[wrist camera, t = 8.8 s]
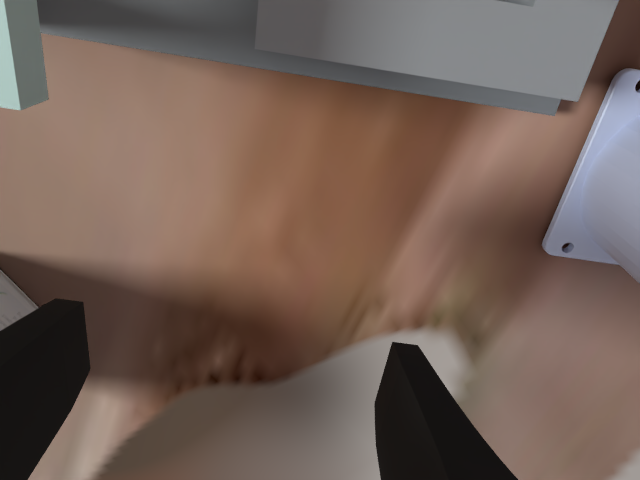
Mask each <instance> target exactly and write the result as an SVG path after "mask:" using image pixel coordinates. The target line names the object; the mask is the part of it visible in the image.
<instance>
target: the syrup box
mask: <svg viewBox="0 0 640 480" xmlns="http://www.w3.org/2000/svg"><path fill="white" fill-rule="evenodd" d="M36 309H38V307H37V305H36V304H35V303H34V302H33V301H32V300H31V299H30V298H28V296H27V295H26V294H25V293H24V292H23V291H22V290H21V289H20V288H18V286H17V285H16V284H15V283H14V282H13V281H12V280H11V279H10V278H8V277H7V276H6V275H5V274H4V273H3V272H2V271H1V270H0V331H1V330H2V329H4V328H6V327H8V326H9V325H11V324H13V323H14V322H16V321H18V320H19V319H21V318H23V317H24V316H26V315H28V314H29V313H31V312H33V311H35V310H36Z"/></svg>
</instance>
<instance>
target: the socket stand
mask: <svg viewBox="0 0 640 480" xmlns="http://www.w3.org/2000/svg"><path fill="white" fill-rule="evenodd" d="M618 1H619V0H0V107H2V108H8V109H15V110H23V109H25V108H28V107H31V106H33V105H36V104H38V103H41V102H43V101H46V100H48V99H49V98H48V90H47V81H46V73H45V65H44V57H43V48H42V40H41V33H43V34H50V35H56V36H62V37H68V38H74V39H81V40H87V41H93V42H99V43H105V44H112V45H118V46H124V47H130V48H136V49H143V50H149V51H155V52H161V53H167V54H174V55H180V56H186V57H192V58H198V59H205V60H211V61H217V62H223V63H229V64H236V65H242V66H248V67H254V68H260V69H267V70H273V71H279V72H285V73H291V74H298V75H304V76H310V77H316V78H322V79H329V80H335V81H341V82H347V83H353V84H360V85H366V86H372V87H378V88H384V89H391V90H397V91H403V92H409V93H415V94H422V95H428V96H434V97H440V98H446V99H453V100H459V101H465V102H471V103H477V104H484V105H490V106H496V107H502V108H508V109H515V110H521V111H527V112H533V113H539V114H546V115H552V116H555V114H556V111H557V109H558V106H559V103H560V101H561V99H564V100H570V101H576V102H578V100H579V97H580V95H581V93H582V90H583V88H584V85H585V83H586V80H587V78H588V75H589V73H590V70H591V68H592V65H593V63H594V60H595V58H596V56H597V53H598V51H599V48H600V46H601V43H602V41H603V38H604V36H605V33H606V31H607V28H608V26H609V24H610V21H611V19H612V16H613V14H614V11H615V9H616V6H617V4H618Z"/></svg>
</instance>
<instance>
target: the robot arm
mask: <svg viewBox="0 0 640 480" xmlns="http://www.w3.org/2000/svg"><path fill="white" fill-rule="evenodd" d="M639 80H640V70H638V69H632V68H626V69H623V70H621V71H619V72H618V73H617V74H616V75H615V76H614V78H613V79H612V82H611V84H610V86H609V88H608V91H607V93H606V95H605V98H604V100H603V102H602V105H601V107H600V109H599V112H598V114H597V116H596V119H595V121H594V123H593V126H592V128H591V130H590V133H589V135H588V137H587V140H586V142H585V144H584V147H583V149H582V151H581V153H580V156H579V158H578V160H577V163H576V165H575V167H574V170H573V172H572V174H571V177H570V179H569V181H568V184H567V186H566V188H565V191H564V193H563V195H562V198H561V200H560V202H559V205H558V207H557V209H556V212H555V214H554V216H553V219H552V221H551V223H550V225H549V228H548V230H547V232H546V235H545V237H544V239H543V243H542V246H543V249H544V250H545V251H546V252H547V253H548V254H550V255H553V256H560V257H567V258H574V259H581V260H588V261H595V262H602V263H609V264H616V265H620V266H621V267H622V268H623V269H625V270H626V271H627V272H628V273H629V274H630V275H631V276H632V277H633V278H634V279H635V280H636V281H637V282H638V283H639V284H640V89H639V90H637V91H636V89H635V87H636V84H637V82H638V81H639ZM566 243H570V244H569V246H568V247H566V248H563V249H562V246H563V245H564V244H566ZM89 371H90V361H89V351H88V342H87V333H86V324H85V315H84V306H83V302H79V301H71V300H64V299H54V300H52V301H50V302H49V303H47V304H45V305H43V306H41V307H40V308H38V309H36V310H35V311H33V312H31V313H29V314H28V315H26V316H24V317H23V318H21V319H19V320H18V321H16V322H14V323H13V324H11V325H9V326H8V327H6V328H4V329H2V330H1V331H0V480H28V478H29V476H30V475H31V473H32V472H33V470H34V469H35V467H36V465H37V464H38V462H39V461H40V459H41V458H42V456H43V454H44V453H45V451H46V450H47V448H48V447H49V445H50V443H51V442H52V440H53V439H54V437H55V435H56V434H57V432H58V431H59V429H60V427H61V426H62V424H63V423H64V421H65V419H66V418H67V416H68V414H69V413H70V411H71V409H72V407H73V405H74V403H75V401H76V399H77V397H78V395H79V393H80V391H81V389H82V386H83V384H84V382H85V380H86V378H87V375H88V373H89ZM375 432H376V433H375V434H376V448H377V456H378V462H379V468H380V476H381V480H518V479H517V478H516V477H515V476H514V475H513V473H512V472H511V471H510V470H509V469H508V468H507V467H506V465H505V464H504V463H503V462H502V461H501V460H500V459H499V457H498V456H497V455H496V454H495V452H494V451H493V450H492V449H491V447H490V446H489V445H488V444H487V443H486V441H485V440H484V439H483V438H482V436H481V435H480V434H479V432H478V431H477V430H476V428H475V427H474V426H473V425H472V423H471V422H470V420H469V419H468V418H467V416H466V415H465V414H464V412H463V411H462V409H461V408H460V407H459V405H458V404H457V403H456V401H455V400H454V398H453V397H452V395H451V394H450V393H449V391H448V390H447V388H446V387H445V385H444V384H443V382H442V381H441V380H440V378H439V376H438V375H437V373H436V372H435V370H434V369H433V367H432V366H431V365H430V363H429V361H428V360H427V358H426V357H425V355H424V354H423V352H422V351H421V349H420V348H419V347H418V345H411V344H404V343H396V342H392V345H391V349H390V352H389V355H388V359H387V362H386V366H385V369H384V373H383V376H382V380H381V383H380V386H379V390H378V393H377V397H376V401H375Z"/></svg>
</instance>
